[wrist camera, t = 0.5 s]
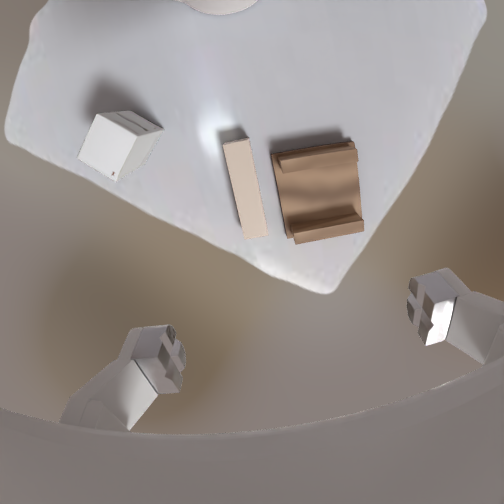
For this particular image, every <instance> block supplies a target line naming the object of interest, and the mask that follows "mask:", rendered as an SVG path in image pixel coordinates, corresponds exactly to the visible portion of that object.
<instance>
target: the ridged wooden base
mask: <svg viewBox="0 0 504 504" xmlns="http://www.w3.org/2000/svg"><path fill="white" fill-rule="evenodd" d="M271 157H272V162H273V167H274V172H275V177H276V182H277V187H278V192H279V197H280V202H281V208H282V213H283V218H284V224H285V229H286V235H287V239H288V238H294V241H295V244H301V243H306V242H311V241H316V240H321V239H327V238H332V237H337V236H342V235H347V234H352V233H357V232H362V231H364V220H363V219H362V211H361V199H360V187H359V177H358V168H357V162H358V154H357V149H356V148H355V144H354V142H353V141H350V142H342V143H335V144H328V145H321V146H315V147H308V148H302V149H297V150H291V151H285V152H280V153H274V154H271Z"/></svg>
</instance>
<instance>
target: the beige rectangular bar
mask: <svg viewBox="0 0 504 504" xmlns="http://www.w3.org/2000/svg"><path fill="white" fill-rule="evenodd" d="M223 149H224V153H225V157H226V162H227V166H228V170H229V175H230V179H231V183H232V187H233V192H234V196H235V200H236V205H237V209H238V213H239V218H240V222H241V226H242V230H243V235H244V239H245V240H246V239H251V238H256V237H262V236H267V235H268V229H267V223H266V218H265V213H264V208H263V203H262V198H261V193H260V188H259V183H258V178H257V173H256V169H255V164H254V159H253V154H252V149H251V145H250V140H249V138H244V139H239V140H234V141H229V142H225V143H224V144H223Z"/></svg>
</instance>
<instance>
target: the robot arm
mask: <svg viewBox="0 0 504 504" xmlns="http://www.w3.org/2000/svg"><path fill="white" fill-rule="evenodd" d="M174 1H179V2H183V3H185V4H187V5H189V6H190V7H191V8H193V9H195V10H197V11H199V12H202V13H206V14H212V15H225V14H232V13H236V12H239V11H242V10H244V9H246V8H248V7H250V6H252V5H253V4H254V3H256V2H257V1H258V0H174ZM409 290H410V291H411V295H410V296H409V297H408V299H407V311H408V316H409V319H410V321H411V323H412V324H413V325H415V326H417V327H419V329H418V334H419V336H420V338H421V339H422V341H423V343H424V344H425V346H427V345H430V344H433V343H436V342H440V341H443V340H446V341H447V342H449V343H451V344H452V345H454V346H456V347H457V348H458V349H460V350H461V351H463V352H465V353H466V354H468V355H469V356H471V357H473V358H474V359H475V360H477V361H479V362H480V363H482V364H483V366H482V367H481V368H479V369H477V370H475V371H473V372H470V373H468V374H466V375H464V376H461V377H459V378H457V379H455V380H452V381H450V382H448V383H445V384H443V385H440V386H438V387H435V388H433V389H430V390H427V391H425V392H423V393H419V394H417V395H414V396H411V397H408V398H405V399H402V400H399V401H396V402H393V403H390V404H387V405H383V406H379V407H376V408H373V409H369V410H365V411H361V412H358V413H354V414H350V415H345V416H341V417H337V418H332V419H327V420H322V421H317V422H313V423H307V424H301V425H295V426H288V427H281V428H274V429H266V430H257V431H247V432H235V433H219V434H192V435H191V434H190V435H189V434H185V435H182V434H180V435H179V434H176V435H175V434H174V435H173V434H145V433H132V432H130V431H129V430H130V429H131V428H132V427H133V425H134V424H135V423H136V422H137V420H138V419H139V418H140V417H141V416H142V414H143V413H144V412H145V411H146V409H147V408H148V407H149V406H150V404H151V403H152V402H153V401H154V399H155V398H156V397H157V396H158V394H166V393H179V392H180V389H181V384H182V378H183V377H182V376H181V374H180V372H181V371H182V370H183V369H184V368H185V363H186V358H185V357H186V356H185V351H184V347H183V345H182V343H181V342H180V341H178V340H176V339H175V337H176V331H175V330H174V328H173V326H171V325H161V326H152V327H141V328H133V329H131V330H130V331H129V334H128V336H127V338H126V340H125V343H124V345H123V347H122V350H121V352H120V354H119V357H118V359H117V360H114V361H112V362H111V363H110V364H109V365H108V366H106V367H105V368H104V369H103V370H102V371H100V372H99V373H98V374H97V375H96V376H94V377H93V378H92V379H91V380H90V381H88V382H87V383H86V384H85V385H84V386H82V387H81V388H80V389H79V390H78V391H77V392H75V393H74V394H73V395H72V396H71V397H70V398H69V400H68V402H67V404H66V407H65V409H64V411H63V414H62V416H61V418H60V421H59V423H57V422H52V421H48V420H43V419H39V418H35V417H30V416H27V415H23V414H19V413H15V412H11V411H9V410H6V409H3V408H0V504H504V302H502V301H500V300H497V299H494V298H492V297H489V296H486V295H484V294H481V293H478V292H476V291H474V292H471V291H470V290H469V289H468V288H467V287H466V286H465V284H464V283H463V282H462V281H461V280H460V279H459V278H458V277H457V276H456V275H455V274H454V273H453V272H452V271H451V270H450V269H449V268H443V269H440V270H437V271H435V272H432V273H429V274H424V275H421V276H417V277H413V278H411V279H410V281H409Z"/></svg>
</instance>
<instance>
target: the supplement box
mask: <svg viewBox="0 0 504 504" xmlns="http://www.w3.org/2000/svg"><path fill="white" fill-rule="evenodd" d="M163 131H164V129H163V128H161V127H159V126H157V125H155V124H153V123H151V122H149V121H148V120H146V119H144V118H142V117H141V116H139V115H137V114H136V113H134V112H132V111H118V112H107V113H97V114H96V116H95V118H94V121H93V123H92V125H91V127H90V129H89V131H88V134H87V136H86V138H85V140H84V142H83V145H82V147H81V149H80V151H79V154H78V156H77V159H78V160H80V161H81V162H83V163H85V164H86V165H88V166H89V167H91V168H93V169H94V170H96V171H97V172H99V173H101V174H103V175H104V176H106V177H108V178H109V179H111V180H112V181H114V182H117V181H119V180H120V179H122V178H123V177H125V176H127V175H128V174H130V173H132V172H133V171H135V170H137V169H138V168H140V167H142V166H143V165H145V163H146V161H147V160H148V158H149V156H150V154H151V152H152V151H153V149H154V147H155V145H156V143H157V142H158V140H159V138H160V137H161V135H162V133H163Z"/></svg>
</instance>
